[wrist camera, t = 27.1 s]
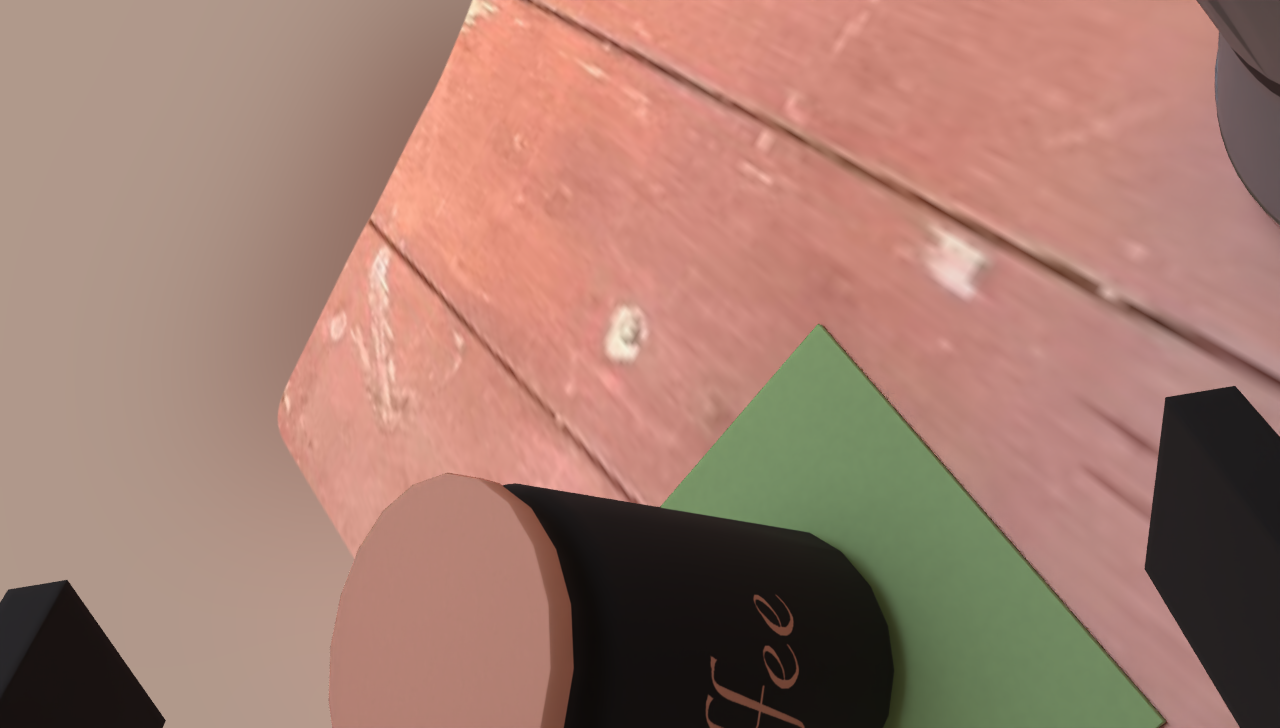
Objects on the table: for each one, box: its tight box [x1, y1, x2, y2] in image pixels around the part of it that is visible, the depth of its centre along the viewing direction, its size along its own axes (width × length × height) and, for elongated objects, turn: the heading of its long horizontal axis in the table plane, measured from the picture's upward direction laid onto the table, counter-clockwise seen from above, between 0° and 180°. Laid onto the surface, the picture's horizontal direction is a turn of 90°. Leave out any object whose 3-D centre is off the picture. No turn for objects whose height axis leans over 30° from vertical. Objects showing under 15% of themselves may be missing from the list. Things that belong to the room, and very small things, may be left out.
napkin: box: [660, 324, 1166, 728], centre depth 43 cm, size 20×20×1 cm
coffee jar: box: [329, 473, 894, 728], centre depth 36 cm, size 11×11×18 cm
